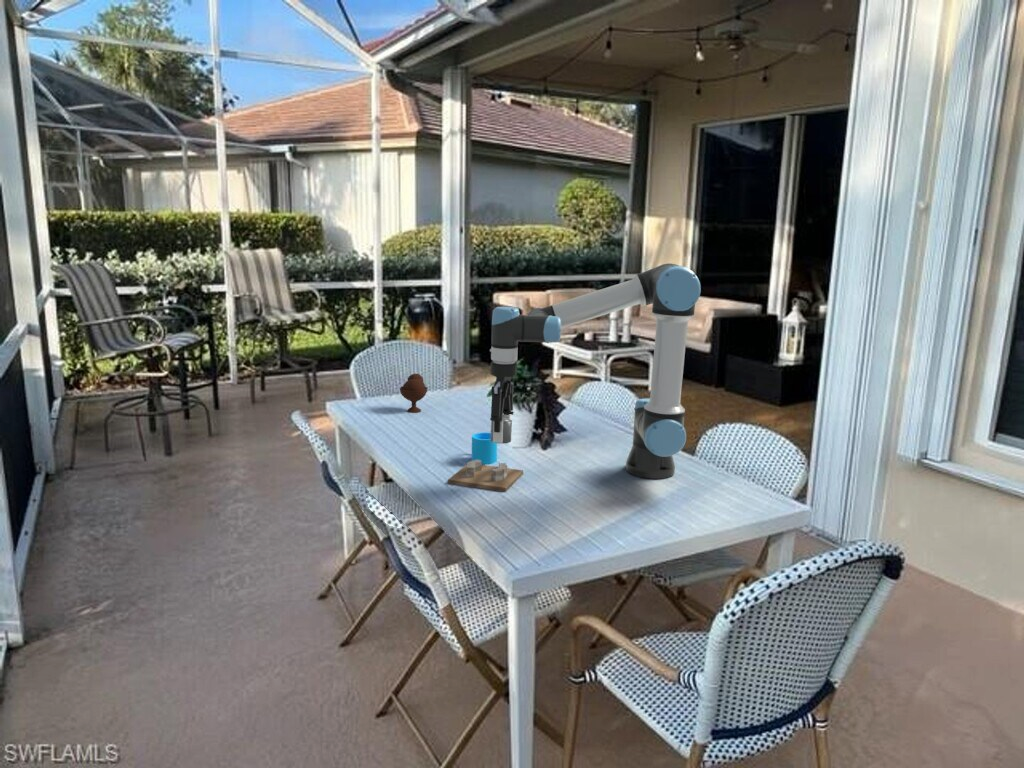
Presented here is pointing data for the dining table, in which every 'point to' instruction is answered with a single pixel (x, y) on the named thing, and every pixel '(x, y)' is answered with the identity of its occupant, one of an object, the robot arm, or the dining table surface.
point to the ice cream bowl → (414, 391)
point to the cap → (504, 430)
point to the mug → (484, 448)
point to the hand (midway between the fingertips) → (501, 439)
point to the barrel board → (486, 476)
